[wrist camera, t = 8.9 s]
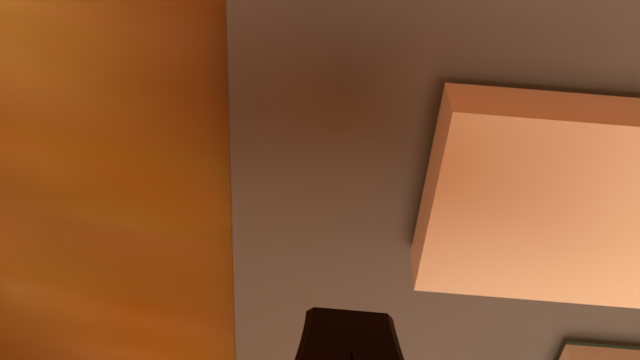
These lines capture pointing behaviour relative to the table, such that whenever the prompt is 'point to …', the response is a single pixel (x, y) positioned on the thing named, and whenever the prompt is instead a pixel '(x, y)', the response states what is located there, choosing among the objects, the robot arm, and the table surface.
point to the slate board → (391, 160)
